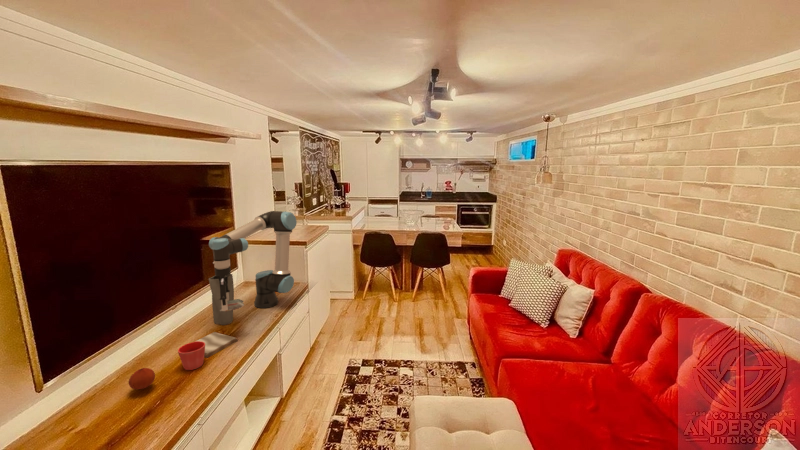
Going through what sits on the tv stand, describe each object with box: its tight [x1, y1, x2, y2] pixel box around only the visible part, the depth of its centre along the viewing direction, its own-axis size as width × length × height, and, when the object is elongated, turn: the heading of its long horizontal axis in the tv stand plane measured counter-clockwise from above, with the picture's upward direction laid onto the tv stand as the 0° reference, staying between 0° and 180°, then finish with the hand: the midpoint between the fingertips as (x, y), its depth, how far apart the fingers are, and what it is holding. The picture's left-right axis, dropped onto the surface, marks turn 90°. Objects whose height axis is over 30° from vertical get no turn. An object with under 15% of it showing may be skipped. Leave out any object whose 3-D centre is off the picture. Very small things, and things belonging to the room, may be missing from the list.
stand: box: [194, 331, 238, 358], centre depth 171 cm, size 18×18×2 cm
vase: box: [208, 273, 235, 326], centre depth 195 cm, size 12×12×30 cm
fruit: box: [128, 367, 156, 390], centre depth 137 cm, size 9×9×8 cm
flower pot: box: [177, 340, 205, 371], centre depth 153 cm, size 11×11×10 cm
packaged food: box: [220, 298, 245, 311], centre depth 177 cm, size 9×12×5 cm
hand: (225, 307), depth 176 cm, fingers closed on packaged food, 9 cm apart
